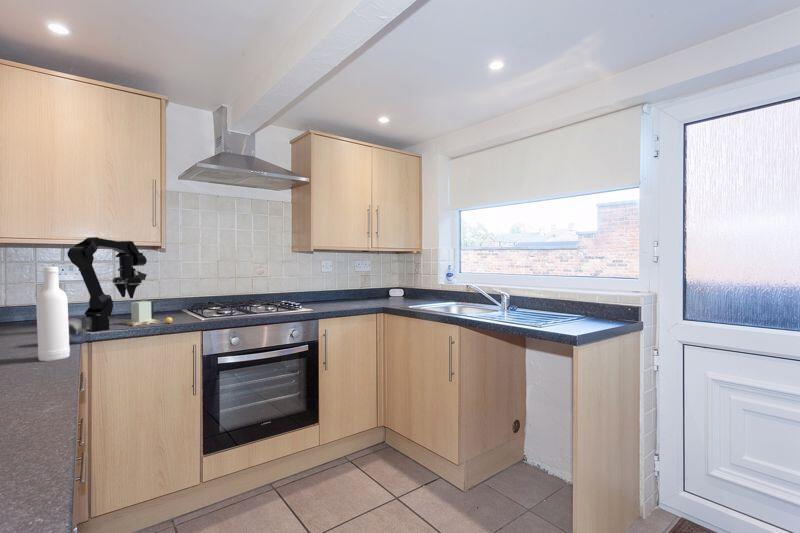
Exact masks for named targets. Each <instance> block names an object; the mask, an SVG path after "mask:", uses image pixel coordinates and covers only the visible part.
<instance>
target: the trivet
mask: <svg viewBox="0 0 800 533" xmlns="http://www.w3.org/2000/svg"><path fill="white" fill-rule="evenodd" d="M158 322H160V323H161V320H159V319H154V318H152V321H145V322H132V320H127V321H122V325H124V324H127V325H126V326H129V325H133V326H132V327H135V326H134V325H140V326H143V325H142V324H147V325H151V324H150V323H155V324H159V323H158Z"/></svg>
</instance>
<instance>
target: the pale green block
mask: <svg viewBox="0 0 800 533" xmlns="http://www.w3.org/2000/svg"><path fill="white" fill-rule="evenodd" d="M148 301H149V300H146V301H142V300H141V301H133V302H130V314H131V315H130V317H131V321H132V322H145V321H152V319H153V318H152V317H151V302H148Z"/></svg>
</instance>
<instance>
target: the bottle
mask: <svg viewBox="0 0 800 533" xmlns="http://www.w3.org/2000/svg"><path fill="white" fill-rule="evenodd" d="M59 273H60V270H59V267H58V266H44V267H43V271H42V274H43V289H42V290H41V291H40V292H38V294H37V297H36V298H35V304H36V308H35V310H36V330H37V331H36V332H37V357H38V360H39V361H40V362H52V361H59V360H64V359H67V358H69V357H70V355H71V347H70V345H69V325H68V316H69V305H68V302H69V299H68V296H67V294H66V292H65V291H64V290H63V289H61V288H60V282H59V281H60V279H59Z"/></svg>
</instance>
